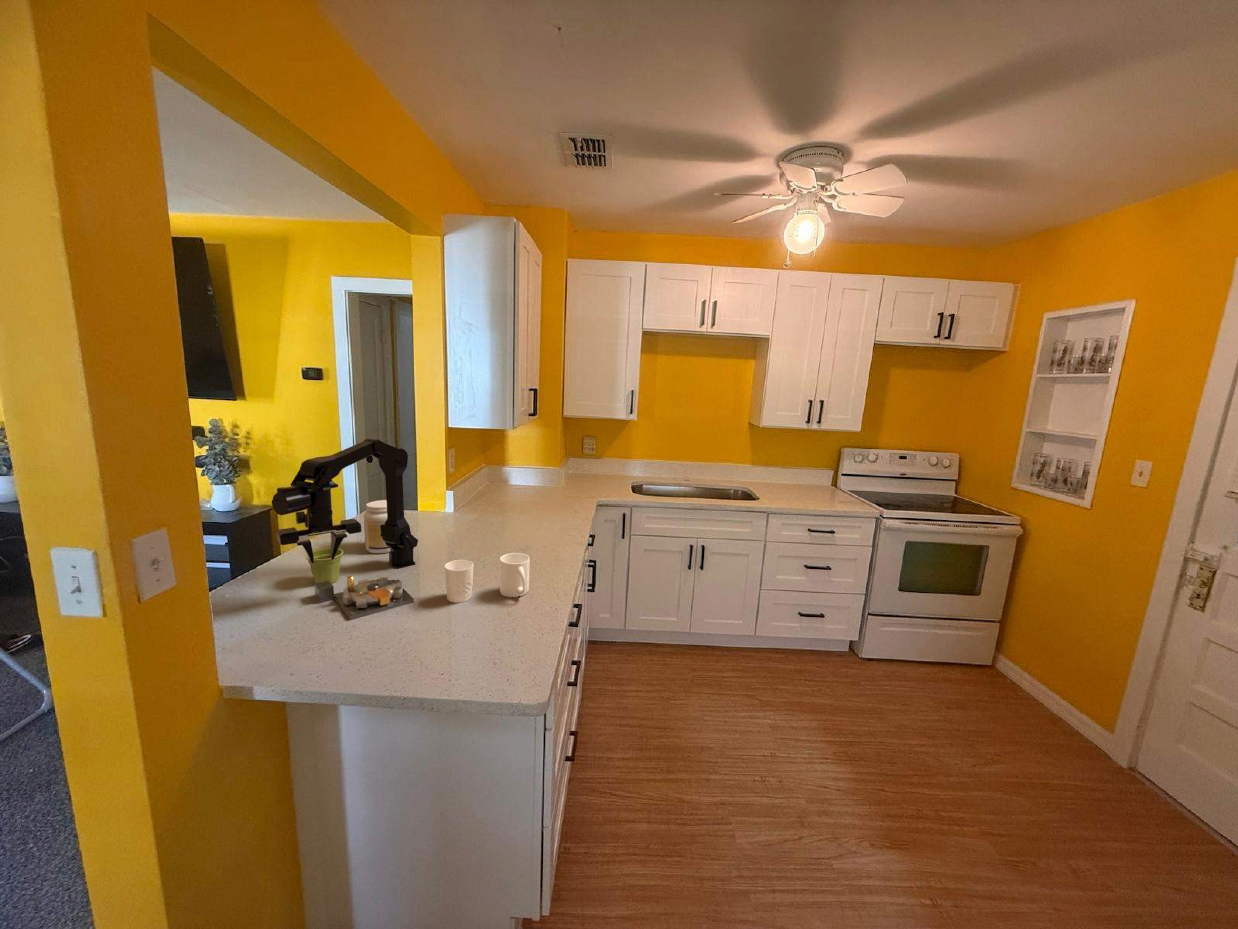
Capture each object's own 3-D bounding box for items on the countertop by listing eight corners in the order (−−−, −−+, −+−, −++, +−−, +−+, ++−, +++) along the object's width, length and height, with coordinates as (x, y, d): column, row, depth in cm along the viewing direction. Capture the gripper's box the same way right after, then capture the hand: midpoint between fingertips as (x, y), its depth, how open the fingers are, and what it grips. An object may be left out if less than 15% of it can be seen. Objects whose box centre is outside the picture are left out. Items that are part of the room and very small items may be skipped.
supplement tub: (409, 547, 168) (408, 503, 165) (377, 557, 158) (375, 510, 155) (390, 540, 175) (389, 497, 172) (358, 549, 164) (356, 503, 162)
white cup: (479, 594, 135) (479, 562, 133) (461, 606, 128) (461, 572, 126) (457, 589, 138) (456, 558, 136) (438, 600, 130) (438, 567, 129)
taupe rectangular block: (329, 593, 131) (328, 580, 130) (334, 600, 127) (333, 586, 127) (315, 597, 129) (314, 583, 128) (319, 603, 125) (318, 590, 124)
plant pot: (327, 589, 133) (325, 561, 132) (299, 585, 135) (297, 557, 133) (351, 576, 142) (350, 550, 141) (325, 572, 144) (324, 546, 142)
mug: (509, 605, 130) (509, 570, 128) (495, 588, 139) (496, 555, 138) (537, 599, 134) (538, 564, 132) (522, 583, 144) (523, 551, 142)
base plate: (393, 582, 140) (393, 579, 140) (413, 602, 129) (413, 598, 128) (333, 597, 129) (333, 594, 129) (349, 620, 117) (349, 616, 117)
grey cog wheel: (348, 586, 133) (347, 566, 132) (405, 581, 138) (404, 562, 137) (336, 610, 119) (335, 589, 118) (400, 604, 124) (399, 583, 123)
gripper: (349, 495, 136) (351, 545, 138) (271, 504, 123) (275, 559, 125) (360, 503, 128) (363, 556, 130) (278, 514, 115) (283, 572, 117)
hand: (322, 560), depth 126 cm, fingers open, 4 cm apart
